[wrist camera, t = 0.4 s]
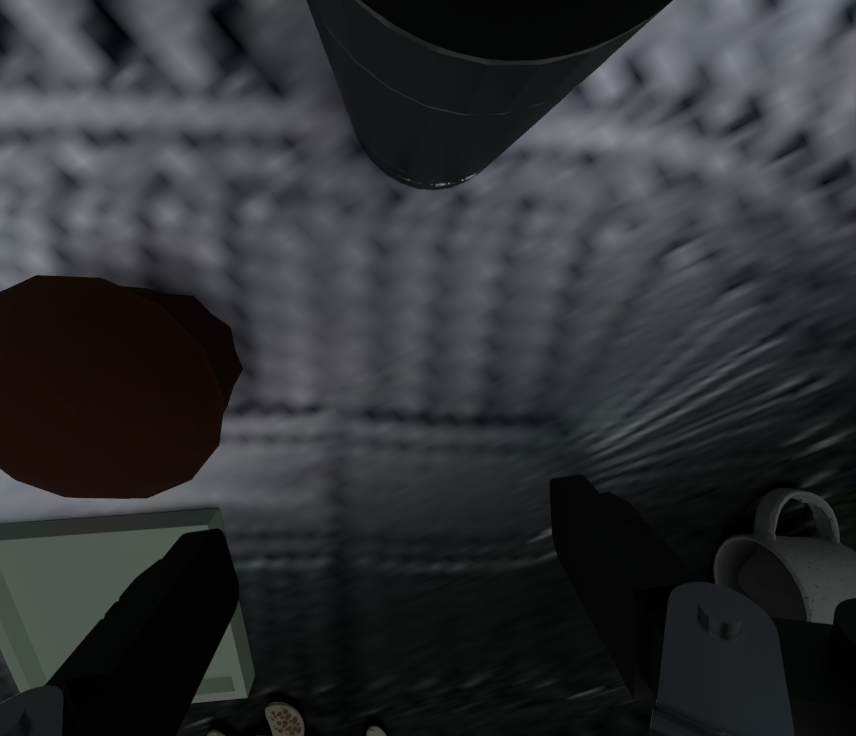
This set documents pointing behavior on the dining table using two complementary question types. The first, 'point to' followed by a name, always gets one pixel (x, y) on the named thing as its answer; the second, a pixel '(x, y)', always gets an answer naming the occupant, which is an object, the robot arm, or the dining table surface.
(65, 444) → the muffin
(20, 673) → the tray
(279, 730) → the decorative turtle
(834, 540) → the ceramic mug
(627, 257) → the dining table surface
